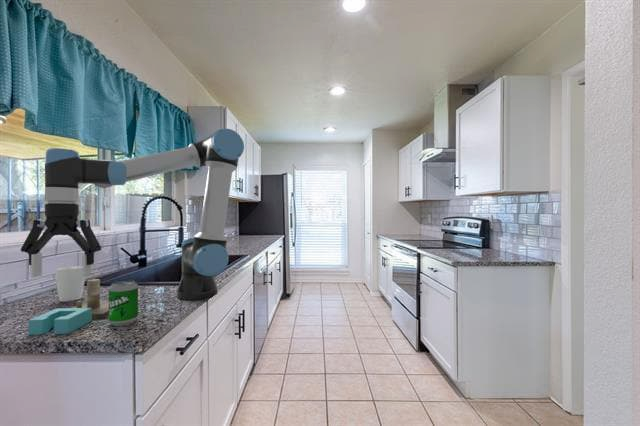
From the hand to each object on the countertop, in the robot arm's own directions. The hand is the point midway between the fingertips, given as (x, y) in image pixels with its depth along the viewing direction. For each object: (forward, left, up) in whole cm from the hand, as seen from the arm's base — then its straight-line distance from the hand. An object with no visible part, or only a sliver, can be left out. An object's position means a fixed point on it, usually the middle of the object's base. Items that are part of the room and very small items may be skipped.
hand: (61, 276), depth 89 cm
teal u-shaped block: (0, 0, -15) cm, 15 cm away
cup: (+18, -30, -15) cm, 38 cm away
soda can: (-16, -3, -15) cm, 22 cm away
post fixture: (0, -14, -15) cm, 20 cm away
